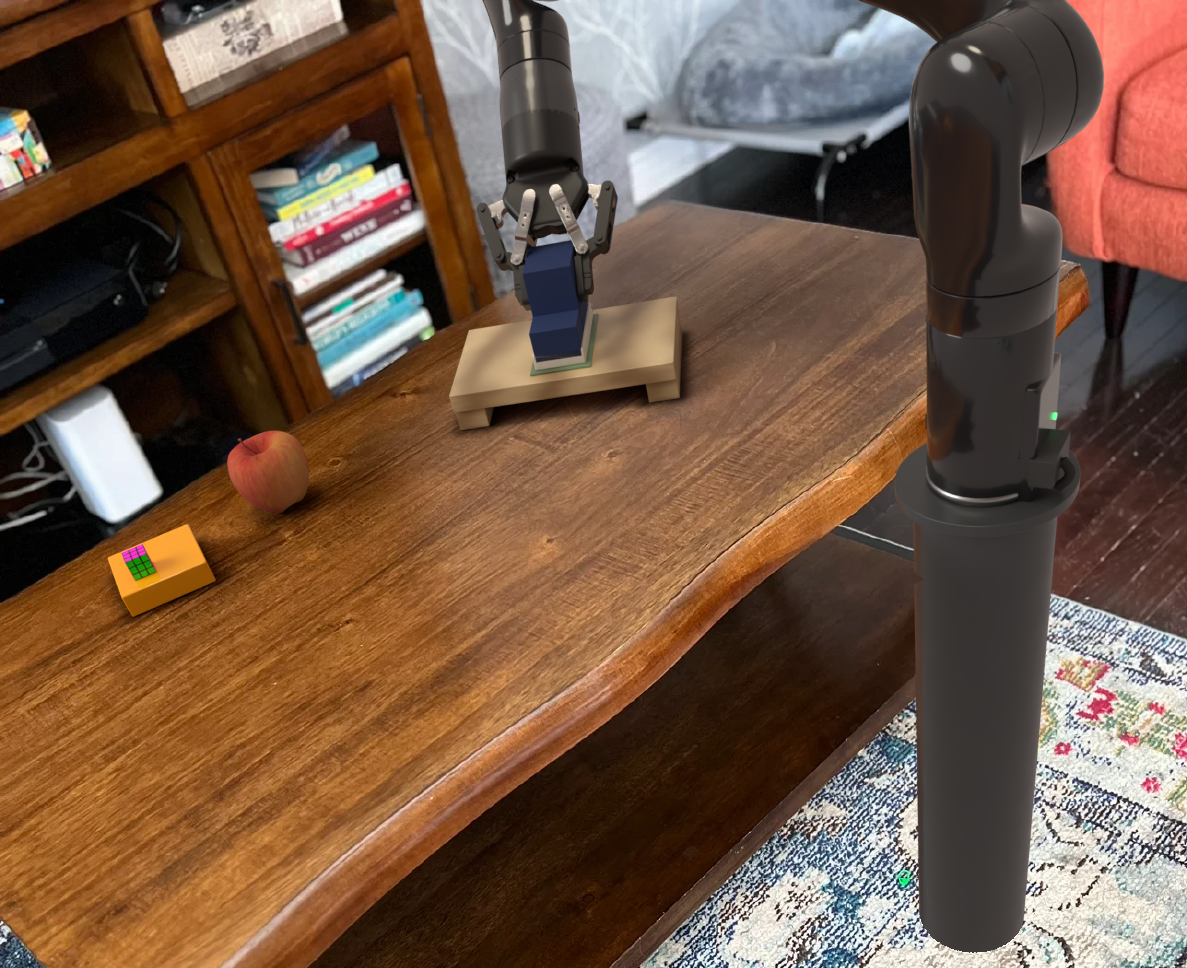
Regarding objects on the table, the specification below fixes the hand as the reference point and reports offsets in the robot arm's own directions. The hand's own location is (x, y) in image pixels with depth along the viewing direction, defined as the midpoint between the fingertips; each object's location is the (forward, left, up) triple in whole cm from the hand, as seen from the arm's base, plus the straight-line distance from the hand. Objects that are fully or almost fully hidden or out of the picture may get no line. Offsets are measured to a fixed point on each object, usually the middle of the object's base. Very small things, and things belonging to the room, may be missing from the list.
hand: (555, 302), depth 118 cm
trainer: (0, 0, -4) cm, 4 cm away
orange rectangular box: (+22, +39, -9) cm, 46 cm away
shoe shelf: (0, 0, -8) cm, 8 cm away
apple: (+18, +26, -9) cm, 33 cm away
